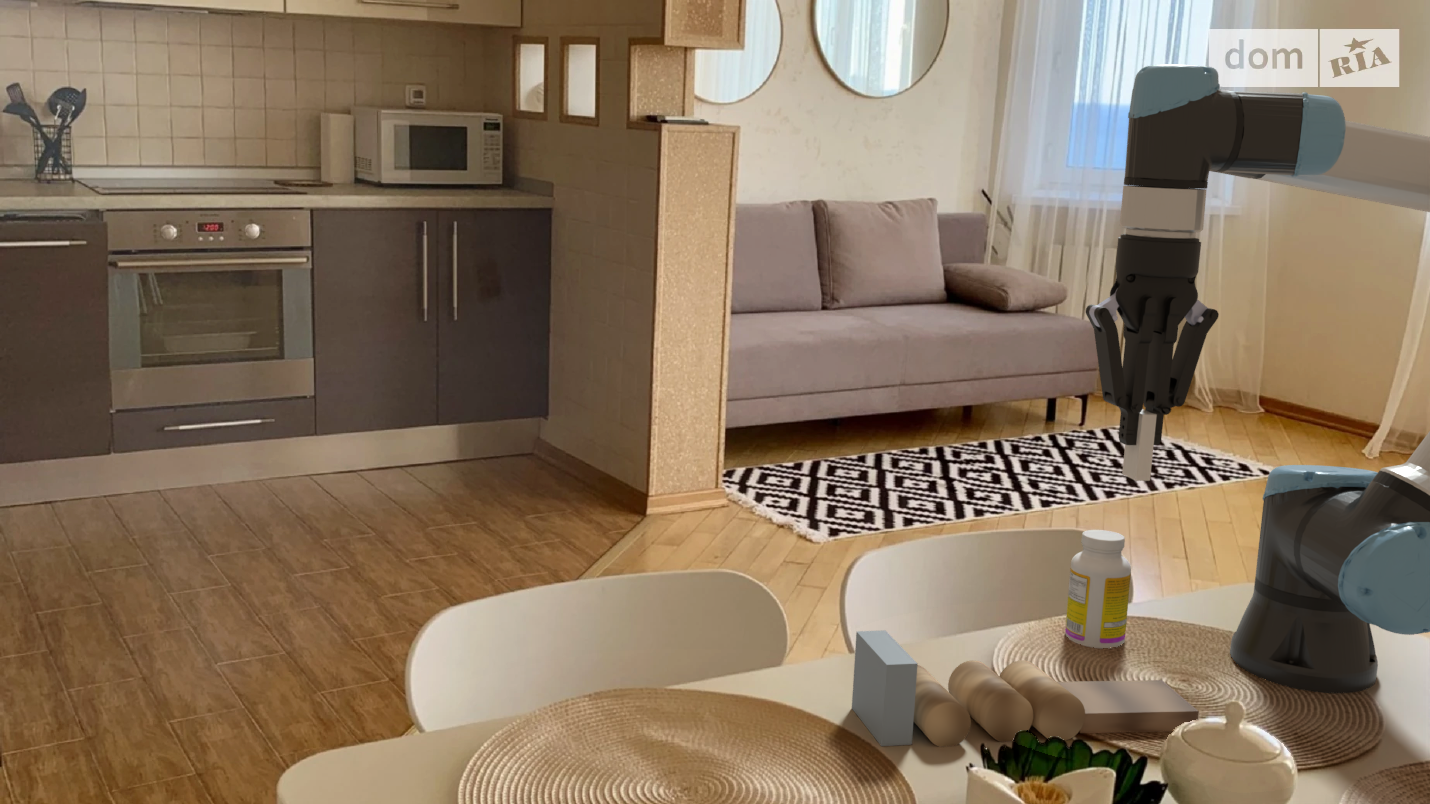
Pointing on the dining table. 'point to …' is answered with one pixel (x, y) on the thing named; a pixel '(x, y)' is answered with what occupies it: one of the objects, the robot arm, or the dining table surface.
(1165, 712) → the walnut board
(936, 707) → the roller
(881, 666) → the block
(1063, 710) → the roller
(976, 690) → the roller
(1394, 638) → the dining table surface
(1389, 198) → the robot arm
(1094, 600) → the supplement bottle
